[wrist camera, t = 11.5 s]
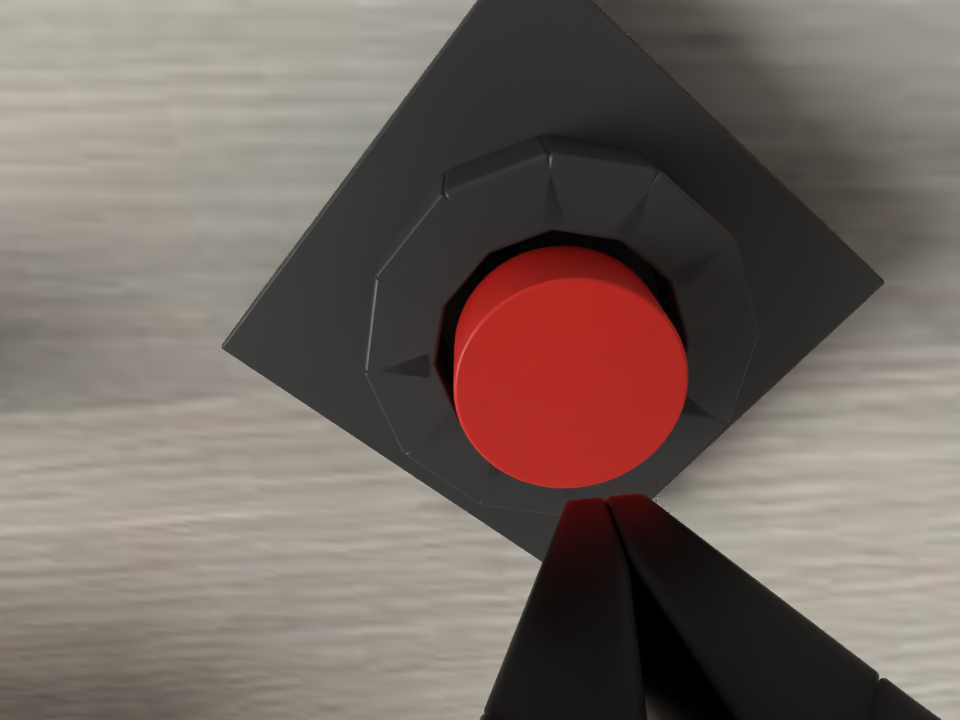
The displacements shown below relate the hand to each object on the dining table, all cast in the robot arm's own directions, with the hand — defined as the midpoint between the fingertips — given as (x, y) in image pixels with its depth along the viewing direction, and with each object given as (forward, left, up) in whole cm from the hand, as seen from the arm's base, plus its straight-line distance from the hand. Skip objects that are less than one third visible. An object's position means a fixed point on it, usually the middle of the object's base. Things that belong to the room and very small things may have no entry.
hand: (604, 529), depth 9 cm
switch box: (0, 0, -9) cm, 9 cm away
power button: (0, 0, -5) cm, 5 cm away
